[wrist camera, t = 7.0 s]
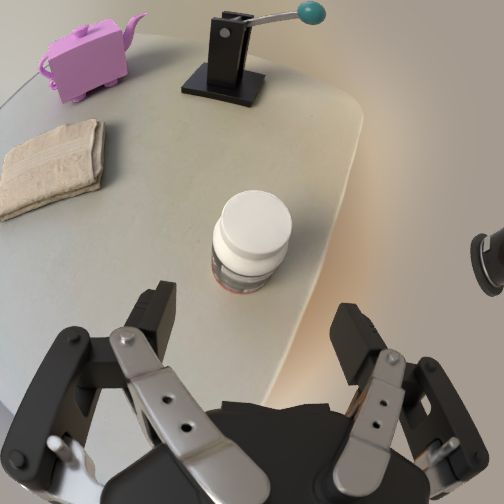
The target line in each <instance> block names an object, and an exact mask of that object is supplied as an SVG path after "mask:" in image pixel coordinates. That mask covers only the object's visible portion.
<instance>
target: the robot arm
mask: <svg viewBox="0 0 504 504" xmlns="http://www.w3.org/2000/svg"><path fill="white" fill-rule="evenodd" d="M479 260H480V265H481V268H482V271H483V274H484V276H485V278H486V280H487V282H488V283H489V284H490V285H491V286H492V287H493V288H498V287H501V286H502V285H504V228H502V229H501V230H499V231H497V232H496V233H494V234H493V235H491V236H490V235H489V236H487V237H485V238H484V239H483V240H482V241H481V242H480V244H479ZM175 314H176V283H174V282H168V281H160V282H159V284H158V286H157V288H156V290H151V289H148V290H146V291H145V292H143V293H142V294H141V295H140V297H139V299H138V301H137V302H136V304H135V306H134V308H133V310H132V312H131V314H130V315H129V317H128V319H127V321H126V323H125V325H124V327H120V328H118V329H116V330H114V331H113V332H112V333H111V335H110V337H102V338H90V336H89V333H88V331H87V330H85V329H84V328H82V327H78V326H72V327H68V328H65V329H63V330H62V331H61V332H60V333H59V334H58V336H57V338H56V339H55V341H54V343H53V344H52V346H51V348H50V349H49V351H48V353H47V354H46V356H45V358H44V360H43V361H42V363H41V365H40V367H39V368H38V370H37V372H36V374H35V376H34V378H33V380H32V382H31V384H30V385H29V387H28V389H27V391H26V393H25V395H24V398H23V400H22V402H21V404H20V406H19V408H18V410H17V413H16V415H15V417H14V419H13V422H12V424H11V426H10V429H9V431H8V434H7V437H6V439H5V442H4V445H3V447H2V450H1V455H0V458H1V464H2V466H3V469H4V470H5V472H6V473H7V474H8V475H9V476H10V477H11V478H13V479H14V480H15V481H17V482H18V483H20V484H21V485H22V486H23V487H24V488H25V489H27V490H28V491H30V492H32V493H33V494H35V495H36V496H38V497H40V498H42V499H44V500H46V501H48V502H50V503H52V504H429V499H430V500H438V499H440V498H442V497H444V496H445V495H447V494H449V493H450V492H452V491H454V490H455V489H457V488H458V487H460V486H461V485H463V484H464V483H466V482H467V481H469V480H470V479H472V478H473V477H475V476H476V475H477V474H479V473H480V472H481V471H483V470H484V469H485V468H486V467H487V466H488V463H489V454H488V451H487V449H486V447H485V445H484V443H483V440H482V438H481V436H480V434H479V432H478V430H477V428H476V426H475V424H474V422H473V421H472V419H471V417H470V415H469V413H468V411H467V410H466V407H465V406H464V404H463V402H462V400H461V398H460V397H459V395H458V393H457V392H456V390H455V388H454V387H453V385H452V383H451V381H450V380H449V378H448V376H447V375H446V373H445V372H444V370H443V368H442V367H441V365H440V364H439V363H438V362H437V361H436V360H435V359H433V358H430V357H422V358H421V359H420V361H419V362H418V364H412V363H407V362H406V361H405V358H404V357H403V356H402V355H401V354H400V353H399V352H397V351H395V350H392V349H388V348H387V346H386V345H385V343H384V341H383V340H382V338H381V336H380V335H379V333H377V330H376V328H374V325H373V323H372V322H371V320H370V319H369V318H368V317H366V316H365V315H364V314H362V313H361V311H360V310H359V308H358V307H357V305H356V304H351V303H341V304H340V305H339V307H338V310H337V312H336V315H335V317H334V320H333V322H332V325H331V327H330V340H331V342H332V345H333V347H334V350H335V352H336V355H337V357H338V360H339V362H340V365H341V367H342V370H343V372H344V375H345V377H346V380H347V383H348V385H349V386H350V385H358V386H359V388H358V390H357V391H356V393H355V395H354V397H353V399H352V402H351V404H350V406H349V408H348V410H347V412H346V414H345V415H343V414H341V413H338V412H334V411H330V407H329V404H328V403H325V404H304V405H299V406H295V407H290V408H286V409H281V410H277V409H272V408H268V407H263V406H259V405H255V404H252V403H241V402H228V401H222V406H221V409H214V410H210V411H206V412H204V411H203V410H202V409H201V407H200V406H199V405H198V403H197V402H196V401H195V400H194V398H193V397H192V396H191V394H190V393H189V392H188V390H187V389H186V387H185V386H184V385H183V383H182V382H181V381H180V379H179V378H178V376H177V375H176V373H175V372H174V371H173V369H172V368H171V367H169V366H167V367H164V366H163V365H162V362H163V358H164V355H165V351H166V348H167V344H168V341H169V337H170V334H171V331H172V327H173V324H174V320H175ZM102 388H121V389H122V391H123V393H124V395H125V397H126V399H127V401H128V403H129V405H130V407H131V409H132V411H133V413H134V414H135V416H136V418H137V420H138V422H139V424H140V426H141V429H142V431H143V433H144V435H145V437H146V439H147V440H148V442H149V444H150V445H151V447H152V450H151V451H149V452H148V453H147V454H145V455H144V456H143V457H141V458H140V459H138V460H137V461H136V462H134V463H133V464H131V465H130V466H129V467H127V468H126V469H124V470H123V471H121V472H120V473H118V474H117V475H115V476H114V477H112V478H111V479H110V480H109V481H108V482H107V483H106V484H105V486H103V485H100V484H99V483H98V482H97V480H96V477H95V465H94V462H93V460H92V459H91V458H90V456H89V455H88V454H87V453H86V451H85V450H84V447H85V443H86V439H87V436H88V432H89V429H90V425H91V422H92V418H93V415H94V412H95V408H96V405H97V402H98V399H99V396H100V393H101V390H102ZM425 395H426V396H427V398H428V400H429V402H430V404H431V412H430V414H429V415H428V416H427V414H426V412H425V410H424V408H423V405H422V403H421V400H422V398H423V397H424V396H425ZM398 419H399V420H400V423H401V425H402V428H403V431H404V433H405V436H406V439H407V442H408V444H409V447H410V450H411V453H412V456H413V459H414V463H412V462H411V461H409V460H407V459H406V458H405V457H403V456H402V455H400V454H399V453H398V452H396V451H394V450H393V449H392V448H390V446H391V442H392V439H393V436H394V433H395V429H396V426H397V422H398Z"/></svg>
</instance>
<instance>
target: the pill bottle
mask: <svg viewBox="0 0 504 504" xmlns="http://www.w3.org/2000/svg"><path fill="white" fill-rule="evenodd" d="M291 231H292V218H291V215H290V212H289V210H288V209H287V207H286V206H285V204H284V203H283V202H282V201H281V200H280V199H279V198H277V197H276V196H274V195H272V194H270V193H268V192H265V191H260V190H247V191H243V192H241V193H238V194H236V195H235V196H233V197H232V198H231V199H230V200H229V201H228V202H227V203H226V205H225V207H224V209H223V211H222V215H221V217H220V218H219V220H218V221H217V223H216V225H215V228H214V232H213V239H212V271H213V275H214V277H215V279H216V280H217V282H218V283H219V284H220V285H221V286H222V287H223V288H224V289H226V290H227V291H229V292H232V293H235V294H249V293H252V292H255V291H257V290H258V289H260V288H261V287H262V286H263V285H264V284H265V283H266V282H267V281H268V279H269V278H270V277H271V275H272V274H273V273H274V271H275V270H276V269H277V268H278V266H279V265H280V264H281V262H282V261H283V259H284V257H285V255H286V253H287V249H288V242H289V240H288V239H289V237H290V235H291Z"/></svg>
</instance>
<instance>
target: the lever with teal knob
mask: <svg viewBox="0 0 504 504" xmlns="http://www.w3.org/2000/svg"><path fill="white" fill-rule="evenodd" d="M325 17H326V11H325V9H324V8H323V6H322V5H320V4H319V3H317V2H313V1H307V2H304V3H302V4H301V5H300V6H299V7H298V10H297V11H291V12H284V13H278V14H272V15H266V16H262V17H257V18H252V19H248V20H242V18H241V16H239V17H236V18H232V19H231V20H238V21H244V22H246V26H245V30H246V27H250V26H255V25H260V24H264V23H270V22H276V21H282V20H289V19H296V18H300V20H302V21H303V22H304V23H306V24H310V25H316V24H319V23H321V22H323V21H324V19H325Z"/></svg>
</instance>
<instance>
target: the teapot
mask: <svg viewBox="0 0 504 504" xmlns="http://www.w3.org/2000/svg"><path fill="white" fill-rule="evenodd" d="M146 14H148V13H143V14H139V15H136V16H134V17H132V18H131V20H130V21H129V22H128V24H127V27H126V30H125V32H124V34H122V30H121V29H120V28H119V27H118V26H117V25H116V24H115V23H114V22H113V21H112V20H111V19H107V20H104V21H102V22H98V23H96V24H93V25H90V26H89V25H82V26H80V27H77V28H75V29H74V30H73V31H72V33H71V34H69V35H67V36H65V37H63V38H61V39H58V40H56V41H54V42H52V43H50V44H49V52H48V53H47V54H45V55H44V56H43V57H42V59H41V61H40V62H39V65H38V70H39V72H40V74H42V75H43V76H45V77H47V78H49V79H52V80H51V81H50V83H49V87H50V88H51V89H52V90H56V89H58V92H59V94H60V97H61V100H62V102H63V104H64V103H66V102H67V101H69V100H71V99H73V102H79V101H81V100H82V99H84V98H85V96H86V92H88V91H90V90H92V89H94V88H96V87H98V86H101V85H103V84H104V86H105V87H111V86H114V85H115V84H117V83H118V80H117V78H120V77H123V76H125V75H128V71H127V65H126V58H125V51H126V50H127V49H128V48H129V46H130V45H131V42H132V39H133V35H134V30H135V27H136V24H137V23H138V21H139V20H140V19H141V18H142V17H143V16H145V15H146ZM47 58H48V62H49V65H50V69H51V72H52V73H50V72H48V71H46V70H45V69H44V68H43V66H42V65H43V63H44V61H45V60H46V59H47ZM54 81H55V83H56V84H55V85H53V82H54Z"/></svg>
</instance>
